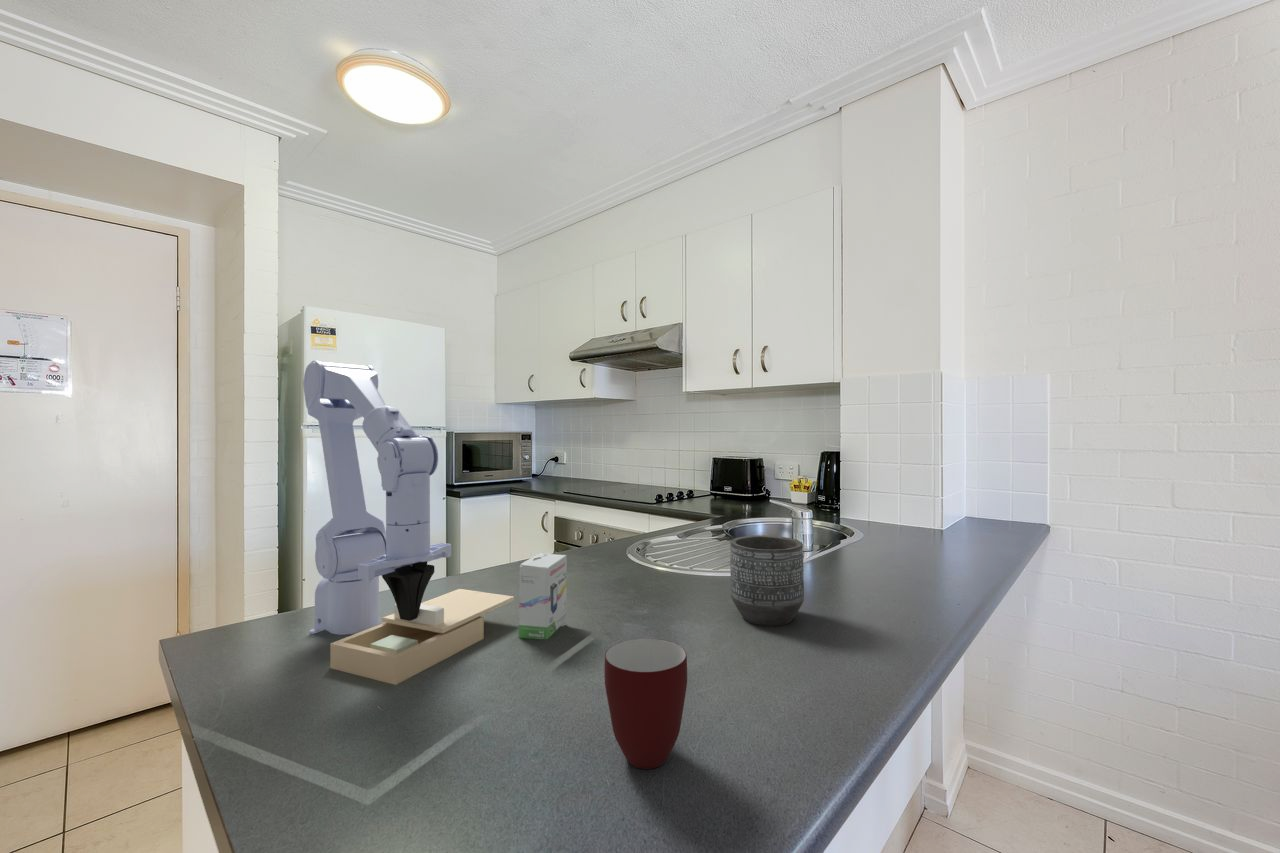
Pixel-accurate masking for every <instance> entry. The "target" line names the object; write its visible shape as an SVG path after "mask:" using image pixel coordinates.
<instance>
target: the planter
mask: <svg viewBox="0 0 1280 853" xmlns="http://www.w3.org/2000/svg"><path fill="white" fill-rule="evenodd" d="M729 548H730V554H729V555H730V556H729V559H730V560H729V562H730V564H729V566H730V586H729V587H730V590H729V591H730V598H731V600H732V602H733V603H734V605H735V608H736V609H737V611H738V612H739V614H740V615H741V616H742V618H743V619H744V620H745V621H747V622H748V623H751V624H755V625H758V626H759V625H760V626H765V627H767V626H768V627H770V626H771V627H777V626H784V625H787V624H790V623H791V622H792V621H793V620H794V618H795V616H796V615H797V613H798V612H799V611H800V609H801V607H802V605H803V603H804V601H805V600H804V599H805V598H804V597H805V583H804V582H805V581H804V579H805V578H804V575H805V574H804V570H805V569H804V568H805V567H804V566H805V565H804V543H803V542H802V541H800V540H798V539H795V538H791V537H786V536H775V535H747V536H745V535H743V536H739V537H736V538H732V539H731V540H730V547H729Z"/></svg>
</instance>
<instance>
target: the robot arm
mask: <svg viewBox="0 0 1280 853" xmlns="http://www.w3.org/2000/svg"><path fill="white" fill-rule="evenodd" d="M303 376H304V377H303V383H302V384H303V387H302V388H303V392H304V393H303V394H304V401H305V406H306V408H307V415H308V416H311V418H313V419H316V420H317V421H318V426H319V431H320V432H319V433H320V437H321V445H322V446H321V447H322V452H323V457H324V458H323V459H324V460H323V461H324V466H325V472H326V479H327V480H326V481H327V486H328V492H329V494H328V495H329V500H330V506H331V513H332V518H331V519H330V520H329V521H328V522H326V523H325V524H324V525H323V526H322V527H320V529H319V530H318V531H317V533H316V536H315V554H314V555H315V556H314V561H315V562H314V563H315V566H316V570H317V573H318V574H319V575H320V576H321V577H322V579H320V581H319V582H318V584H317V585H316V588H315V591H314V628H312V629H310V630H309V634H311V635H314V634H316V633H320V632H323V631H327V632H329V633H330V634H332V635H333V634H334V635H341V636H342V635H344V636H345V635H354V634H356V633H359V632H361V631H364V630H367V629H369V628H372V627H374V626H377V625H379V624H380V576H381V578H382V579H383V580H384V583H385V584H386V585H387V586H388V589H389V590H390V592H391V594H392V597H393V599H394V602H395V604H396V605H397V608H398V612H399V616H400V619H402V620H407V621H411V620H414V619H416V618H417V617H418V613H419V609H420V605H421V603H422V601H423V597H424V594H425V592H426V590H427V586H428V585H429V582H430V580H431V578H432V576H434V574H435V565H433V564H428V563H429V562H432V561H435V560H438V559H439V560H440V559H442V558H444V559H445V558H446V559H447V558H450V557H452V543H448V542H447V543H445V542H440V543H435V544H431V497H430V496H431V495H430V494H431V482H430V481H431V479H430V478H431V476H432V475H434V473H435V472H436V470H437V468H438V463H439V452H438V447H437V445H436V442H435V441H434V439H433V437H432V436H429V435H423V434H417V433H416V431H415V430H414V429H413V428H412V426H411V425H410V424H409V422H408V421H407V420H406V418H405V417H404V415H403V413H401V412H400V410H399V409H398V408H397V407H396V406H394V407H393V406H389V405H387V404H386V403H385V401H384V399H383V397H382V395H381V393H380V392H379V374H378V373H377V371H376V370H375V368H374V366H372V365H370V364H367V365H366V364H365V365H360V364H347V363H340V362H339V363H337V362H327V361H320V360H316V359H314V360H312V361H310V363H308V365H306V368H305V371H304V375H303ZM360 418H363V420H362V430H363V432H364V434H365V436H366V437H367V439H368V441H370V442H371V444H372V446H373V448H374V449H375V451H377V453H378V455H377V458H376V460H377V468H378V471H379V474H380V478H381V487H382V491H384V492H385V524H384V521H383V520H381V519H380V518H378V517H376V516H375V515H373V514H372V513H370V512H368V511H367V505H366V500H365V493H364V492H365V491H364V487H363V481H362V475H361V474H362V473H361V469H360V468H361V467H360V462H359V457H358V450H357V444H356V437H355V431H354V421H357V420H358V419H360Z"/></svg>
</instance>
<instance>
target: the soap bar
mask: <svg viewBox="0 0 1280 853" xmlns="http://www.w3.org/2000/svg"><path fill="white" fill-rule="evenodd" d="M417 644H418V640H414V639H409V638H404V637H399V636H395V635H390V636H388V637H386V638H383V639H381V640H379V641H376V642H374V643H371V644H370V648H371V649H376V650H380V651H385V652H389V653H394V654H398V653H400V652H402V651H404V650H406V649H409V648H411V647H413V646H415V645H417Z"/></svg>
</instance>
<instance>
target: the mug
mask: <svg viewBox="0 0 1280 853" xmlns="http://www.w3.org/2000/svg"><path fill="white" fill-rule="evenodd" d="M687 661H688V656H687V651H686V650H685V648H683V647H682V646H680V645H679V644H677V643H674V642H672V641H668V640H664V639H659V638H635V639H633V638H632V639H627V640H623V641H620V642H618V643H615V644H613V645H612V646H610V647H609V648H608V649H607V650H606V651H605V654H604V686H605V687H604V688H605V692H606V697H607V698H606V699H607V704H608V710H609V714H610V721H611V726H612V731H613V735H614V738H615V740H616V743H617V744H618V747H619V748H620V749H621V751H622V753H623V756H624V757H625V759H626V761H627V763H629V765H631V766H632V767H635V768H637V769H644V770H649V769H655V768H658V767H659V768H660V767H661V766H662V765H663V764H665V763H666V761H667V760H668V758H669V756H670V754H671V753H672V750H673V748H674V746H675V745H676V742H677V740H678V737H679V734H680V731H681V725H682V720H683V712H684V706H685V700H686V694H687V693H686V692H687V686H688V662H687Z"/></svg>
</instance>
